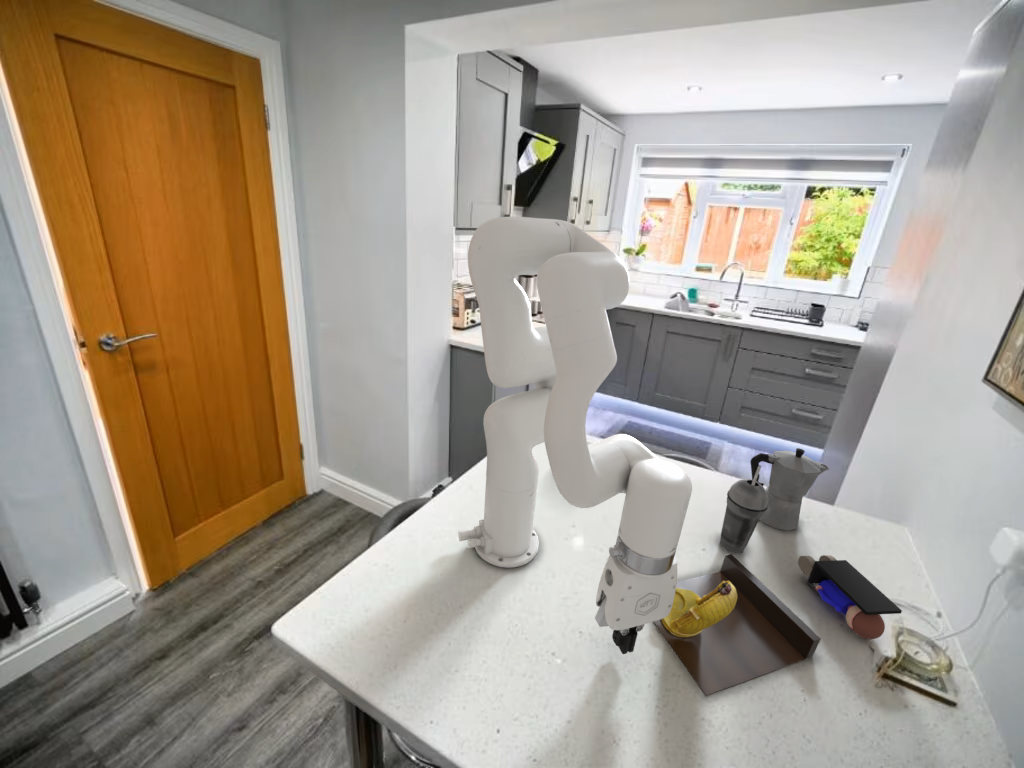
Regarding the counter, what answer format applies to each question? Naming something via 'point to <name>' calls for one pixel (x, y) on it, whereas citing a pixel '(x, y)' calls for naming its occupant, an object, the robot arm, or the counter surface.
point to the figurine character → (849, 594)
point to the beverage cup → (743, 513)
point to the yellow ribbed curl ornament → (698, 610)
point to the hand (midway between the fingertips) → (622, 644)
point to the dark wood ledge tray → (742, 633)
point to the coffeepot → (786, 485)
